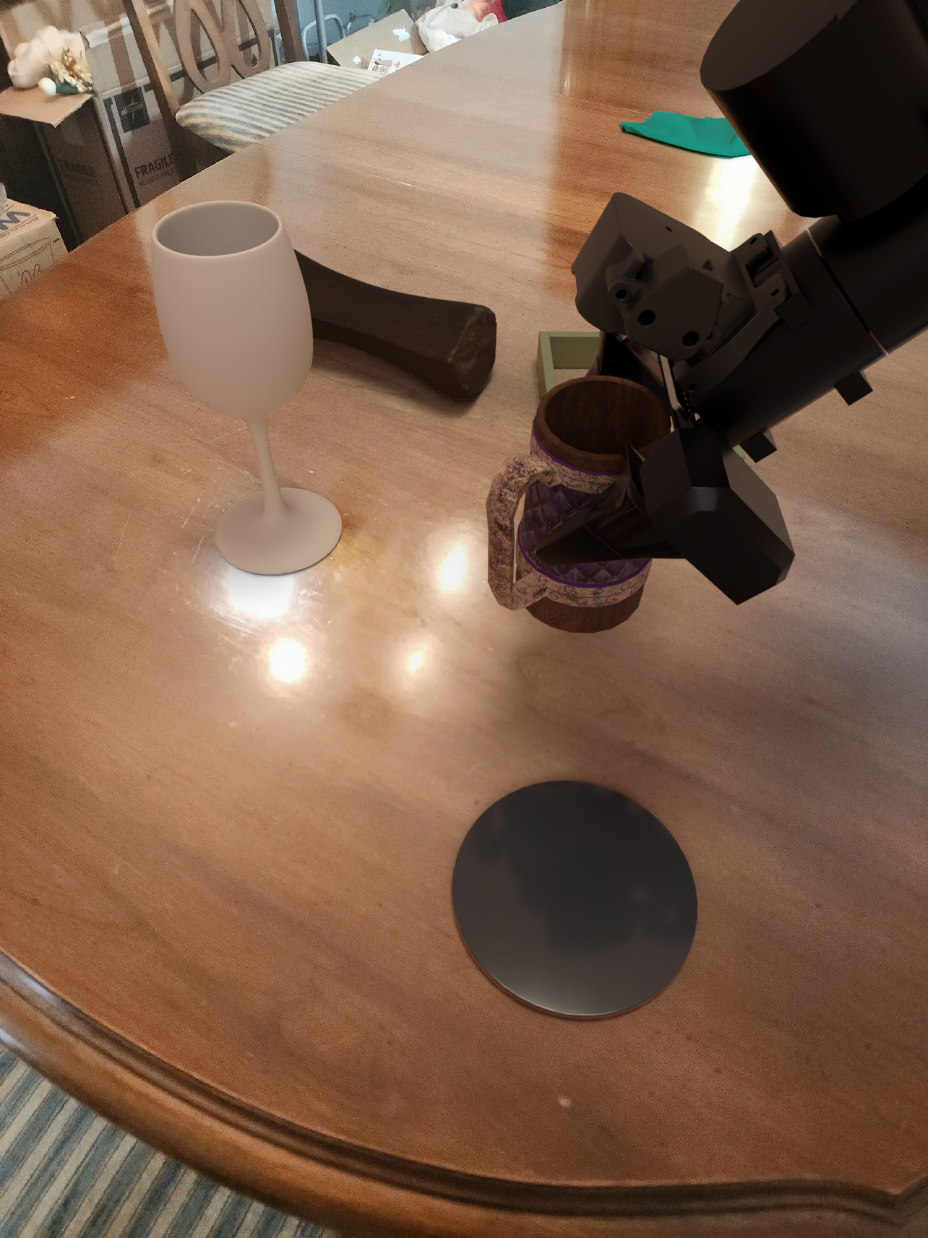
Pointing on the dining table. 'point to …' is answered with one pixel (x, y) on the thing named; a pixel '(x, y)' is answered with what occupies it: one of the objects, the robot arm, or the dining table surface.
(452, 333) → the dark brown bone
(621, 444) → the mug
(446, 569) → the dining table surface
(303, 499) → the wineglass
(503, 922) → the coaster
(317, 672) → the dining table surface
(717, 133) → the cloth
